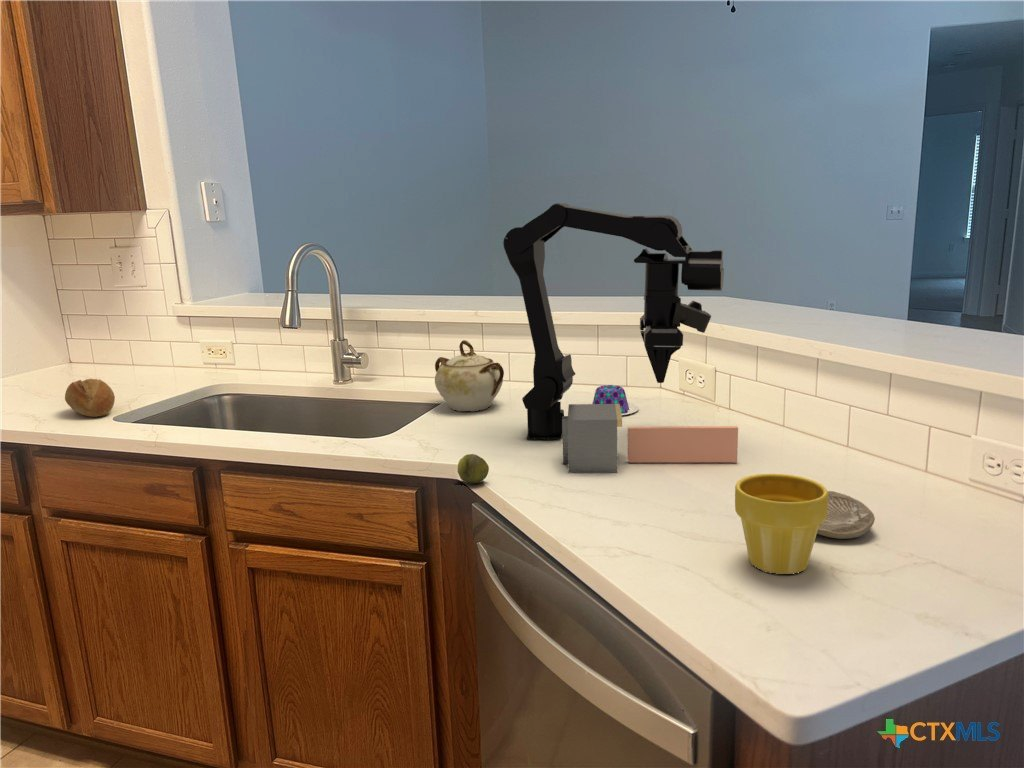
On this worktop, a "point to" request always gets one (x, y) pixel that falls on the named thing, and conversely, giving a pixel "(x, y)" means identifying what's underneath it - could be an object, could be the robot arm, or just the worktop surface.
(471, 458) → the lime
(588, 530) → the worktop surface
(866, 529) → the fossil
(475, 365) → the sugar bowl
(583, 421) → the grey upright box
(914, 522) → the worktop surface
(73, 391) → the bread roll
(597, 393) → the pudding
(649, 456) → the salmon pink plank
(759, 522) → the plant pot
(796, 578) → the worktop surface
